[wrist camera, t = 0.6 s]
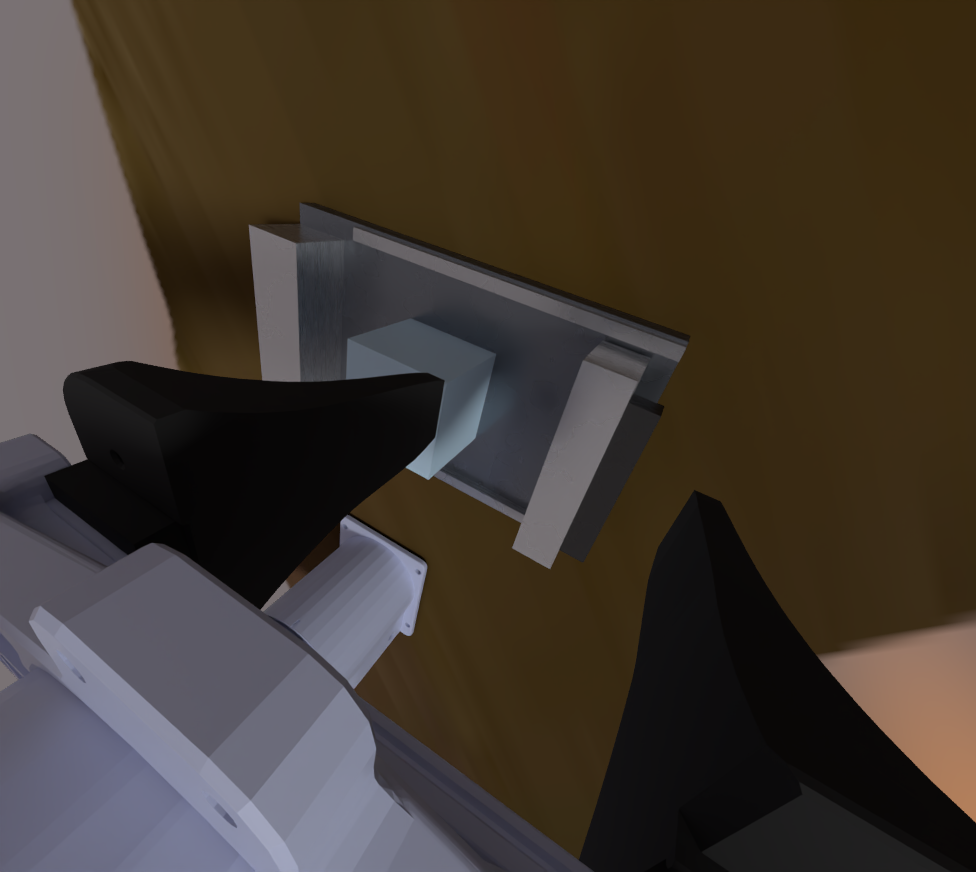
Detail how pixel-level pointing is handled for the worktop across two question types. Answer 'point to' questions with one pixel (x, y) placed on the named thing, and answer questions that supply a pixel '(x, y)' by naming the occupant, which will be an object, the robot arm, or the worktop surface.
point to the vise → (451, 309)
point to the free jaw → (589, 456)
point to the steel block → (440, 356)
